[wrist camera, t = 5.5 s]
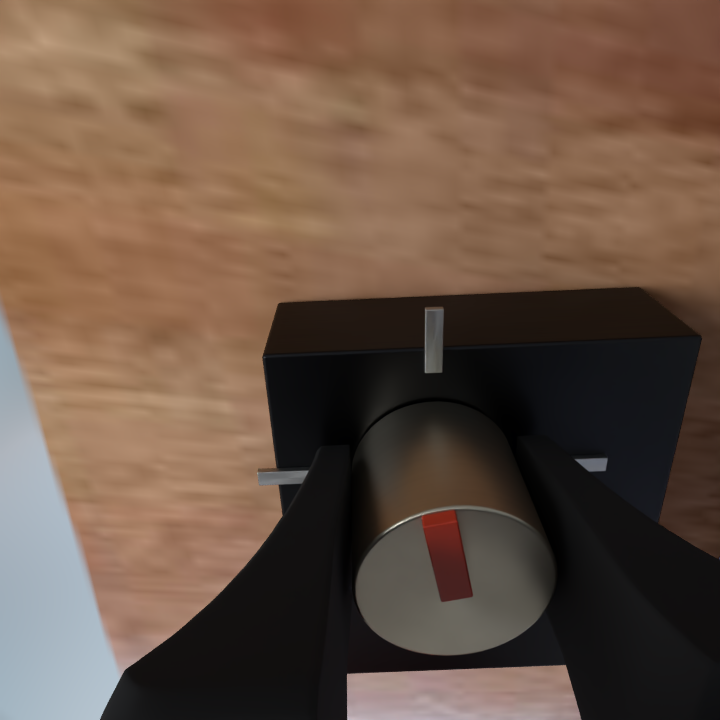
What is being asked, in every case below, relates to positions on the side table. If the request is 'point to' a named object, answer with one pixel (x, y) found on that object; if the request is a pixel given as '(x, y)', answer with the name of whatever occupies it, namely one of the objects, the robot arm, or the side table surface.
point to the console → (485, 400)
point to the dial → (445, 533)
